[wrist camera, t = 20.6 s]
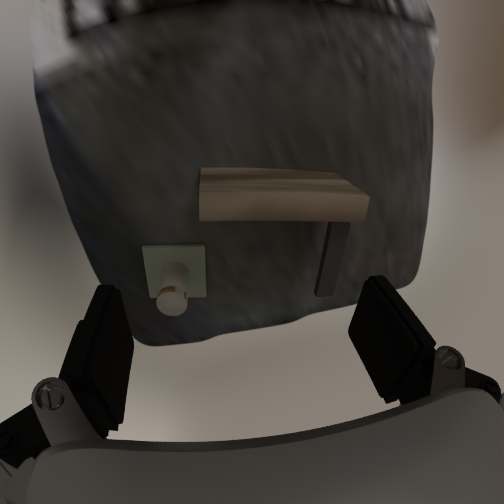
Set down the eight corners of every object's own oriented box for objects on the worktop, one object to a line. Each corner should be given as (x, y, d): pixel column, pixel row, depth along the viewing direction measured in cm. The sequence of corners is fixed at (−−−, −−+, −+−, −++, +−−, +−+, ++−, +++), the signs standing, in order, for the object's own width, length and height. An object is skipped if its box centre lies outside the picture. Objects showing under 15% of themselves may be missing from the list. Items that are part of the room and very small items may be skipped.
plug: (160, 262, 40) (154, 292, 34) (188, 261, 41) (186, 292, 35) (163, 284, 42) (158, 316, 36) (189, 284, 43) (188, 315, 37)
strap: (329, 214, 33) (333, 218, 32) (347, 215, 33) (351, 218, 32) (313, 292, 38) (316, 296, 37) (329, 291, 39) (332, 295, 38)
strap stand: (200, 167, 35) (199, 192, 26) (334, 172, 38) (369, 197, 29) (200, 189, 37) (199, 221, 28) (331, 192, 39) (364, 222, 31)
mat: (142, 245, 39) (142, 247, 39) (204, 244, 41) (205, 246, 40) (150, 295, 44) (150, 297, 43) (206, 294, 45) (206, 296, 45)
